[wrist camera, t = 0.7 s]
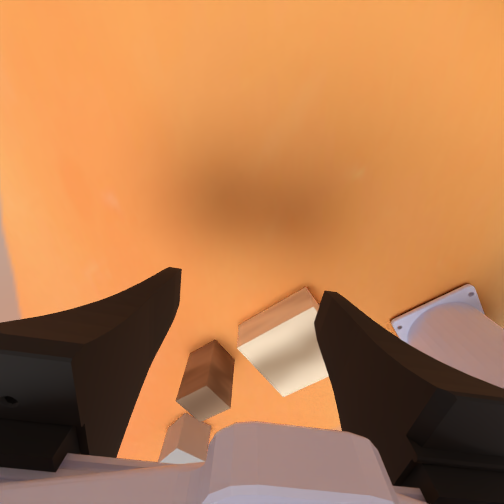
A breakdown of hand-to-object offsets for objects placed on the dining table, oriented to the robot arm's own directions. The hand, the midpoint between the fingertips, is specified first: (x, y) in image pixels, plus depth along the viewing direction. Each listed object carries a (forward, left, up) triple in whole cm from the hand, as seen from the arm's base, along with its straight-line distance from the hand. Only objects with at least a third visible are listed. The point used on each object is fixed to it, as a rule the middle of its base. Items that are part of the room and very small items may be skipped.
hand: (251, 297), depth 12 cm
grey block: (-17, +22, -10) cm, 30 cm away
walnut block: (-9, +12, -10) cm, 18 cm away
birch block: (-11, +3, -10) cm, 16 cm away
